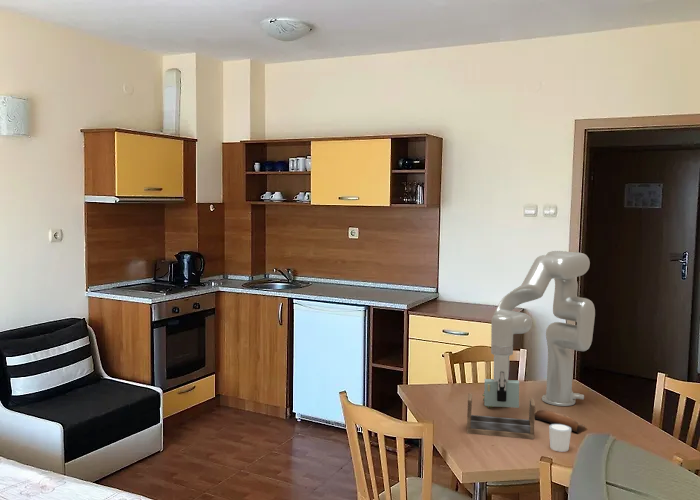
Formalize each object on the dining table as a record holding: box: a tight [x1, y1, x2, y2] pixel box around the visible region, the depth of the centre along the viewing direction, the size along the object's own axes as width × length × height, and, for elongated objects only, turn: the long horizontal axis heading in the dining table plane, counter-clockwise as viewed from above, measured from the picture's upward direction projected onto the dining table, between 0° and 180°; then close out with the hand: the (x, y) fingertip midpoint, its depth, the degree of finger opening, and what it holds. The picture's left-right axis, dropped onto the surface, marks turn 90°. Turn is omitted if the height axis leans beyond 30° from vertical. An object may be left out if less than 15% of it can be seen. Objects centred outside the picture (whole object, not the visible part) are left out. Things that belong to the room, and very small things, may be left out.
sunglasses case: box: [535, 409, 589, 435], centre depth 224 cm, size 18×7×7 cm
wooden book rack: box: [466, 392, 536, 440], centre depth 216 cm, size 22×8×12 cm, turn 78°
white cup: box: [548, 423, 572, 453], centre depth 202 cm, size 7×7×7 cm
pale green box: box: [483, 378, 520, 409], centre depth 225 cm, size 12×4×9 cm, turn 78°
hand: (501, 398), depth 226 cm, fingers closed on pale green box, 3 cm apart
